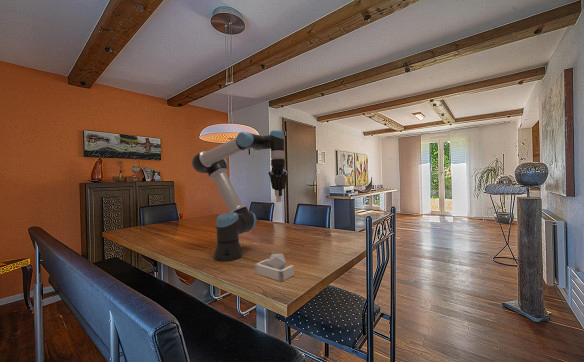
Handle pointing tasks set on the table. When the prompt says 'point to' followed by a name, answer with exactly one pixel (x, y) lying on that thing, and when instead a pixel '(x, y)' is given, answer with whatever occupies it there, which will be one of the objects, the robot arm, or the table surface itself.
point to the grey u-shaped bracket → (273, 271)
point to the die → (277, 261)
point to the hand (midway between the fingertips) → (278, 201)
